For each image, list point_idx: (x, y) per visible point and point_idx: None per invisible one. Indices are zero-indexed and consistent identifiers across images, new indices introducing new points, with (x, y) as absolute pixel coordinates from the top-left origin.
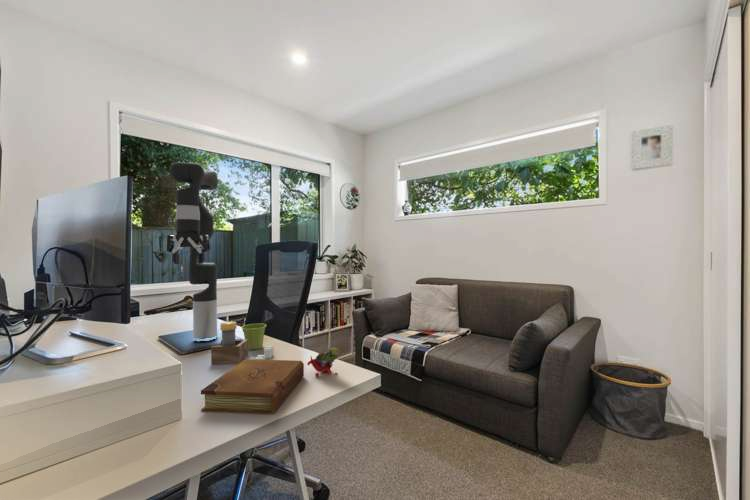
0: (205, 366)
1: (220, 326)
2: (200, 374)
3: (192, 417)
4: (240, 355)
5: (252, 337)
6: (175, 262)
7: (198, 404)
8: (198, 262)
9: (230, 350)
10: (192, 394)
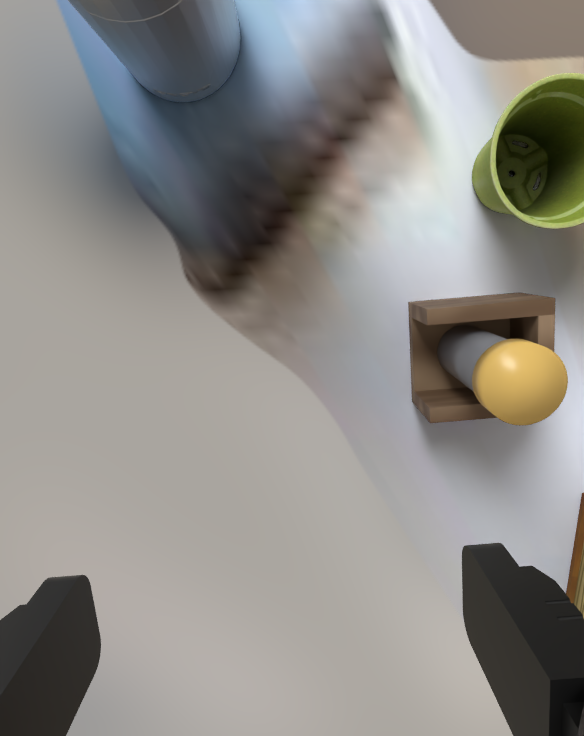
0: (400, 422)
1: (484, 404)
2: (423, 494)
3: None
4: None
5: (545, 215)
6: (84, 679)
7: None
8: (474, 645)
9: None
10: None
